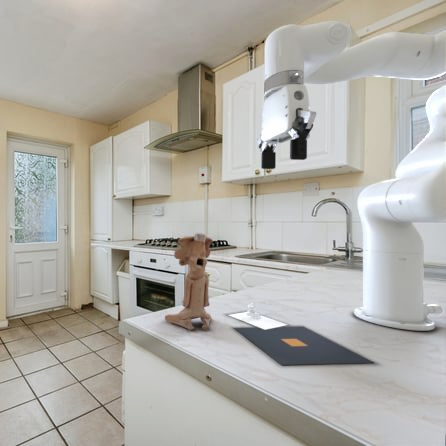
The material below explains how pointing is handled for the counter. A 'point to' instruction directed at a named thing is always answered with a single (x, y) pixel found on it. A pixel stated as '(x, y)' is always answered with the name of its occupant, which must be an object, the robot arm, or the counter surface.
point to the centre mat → (300, 346)
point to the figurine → (193, 281)
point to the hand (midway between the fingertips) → (282, 164)
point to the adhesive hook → (257, 318)
